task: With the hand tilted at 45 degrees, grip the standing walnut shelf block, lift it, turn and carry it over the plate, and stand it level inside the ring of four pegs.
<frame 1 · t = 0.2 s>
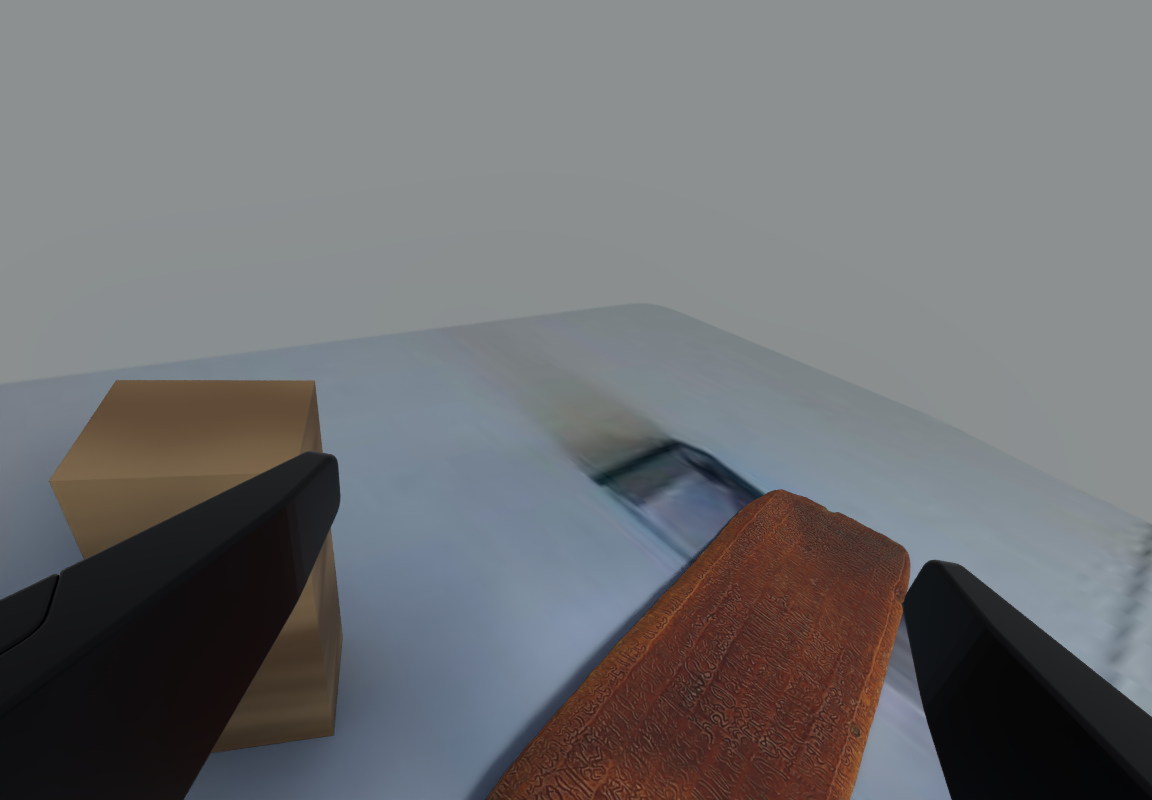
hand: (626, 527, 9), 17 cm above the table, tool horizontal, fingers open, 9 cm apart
walnut shelf block: (266, 691, 23), on the table
wooden tablet: (749, 680, 27), on the table
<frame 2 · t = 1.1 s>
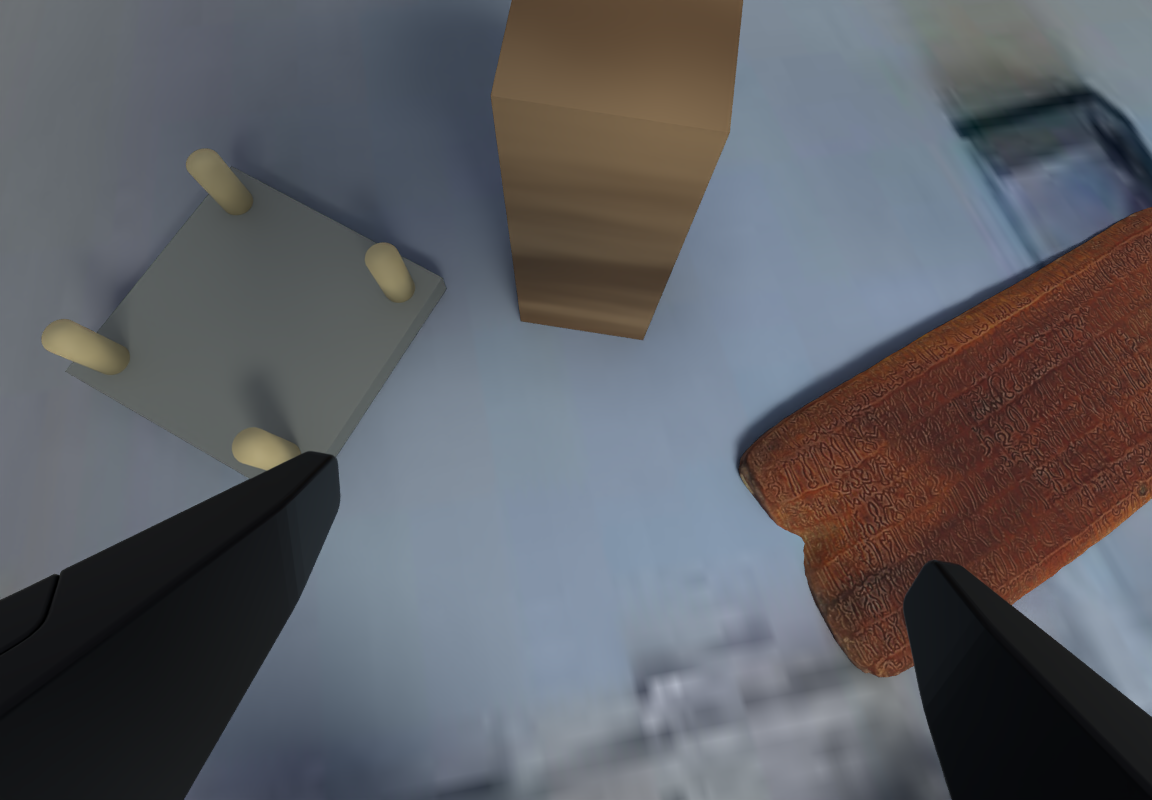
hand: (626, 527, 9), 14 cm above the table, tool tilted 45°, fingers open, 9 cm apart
peg plate: (271, 332, 24), on the table
walnut shelf block: (588, 285, 25), on the table
wooden tablet: (1044, 406, 25), on the table
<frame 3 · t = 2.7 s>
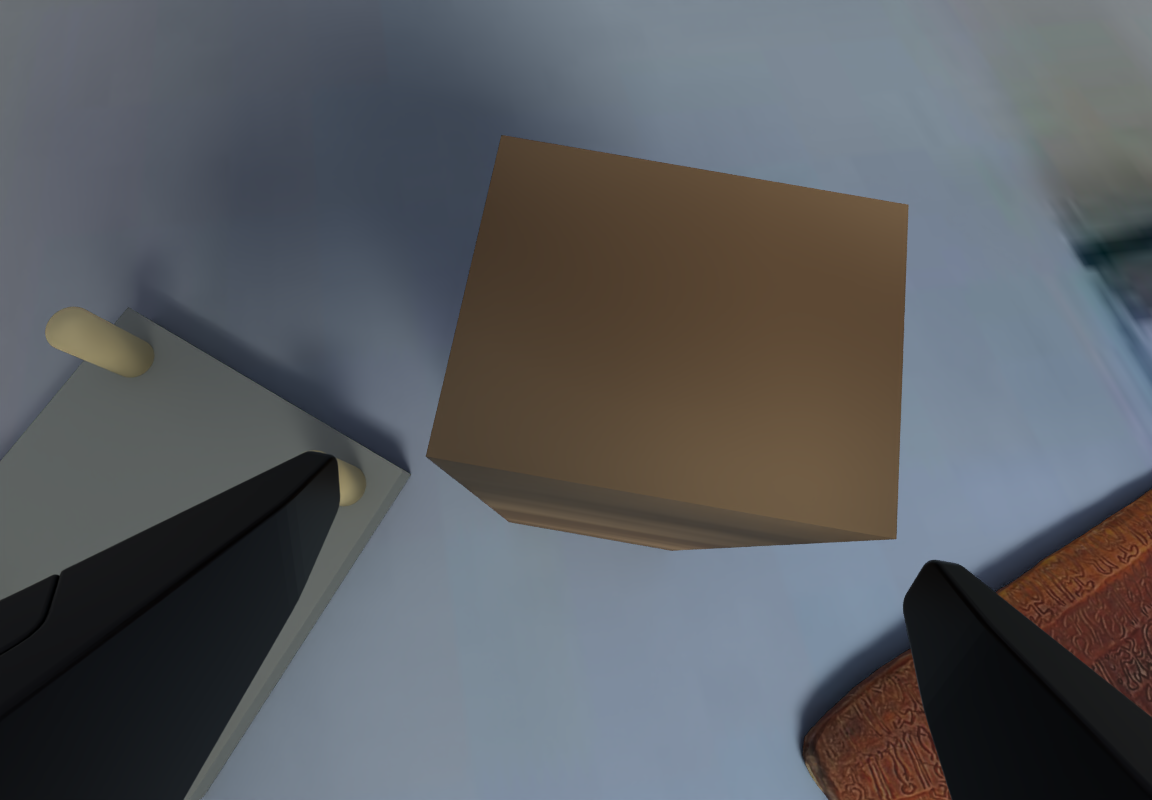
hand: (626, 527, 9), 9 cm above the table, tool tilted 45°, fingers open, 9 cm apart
peg plate: (173, 536, 18), on the table
walnut shelf block: (600, 471, 19), on the table
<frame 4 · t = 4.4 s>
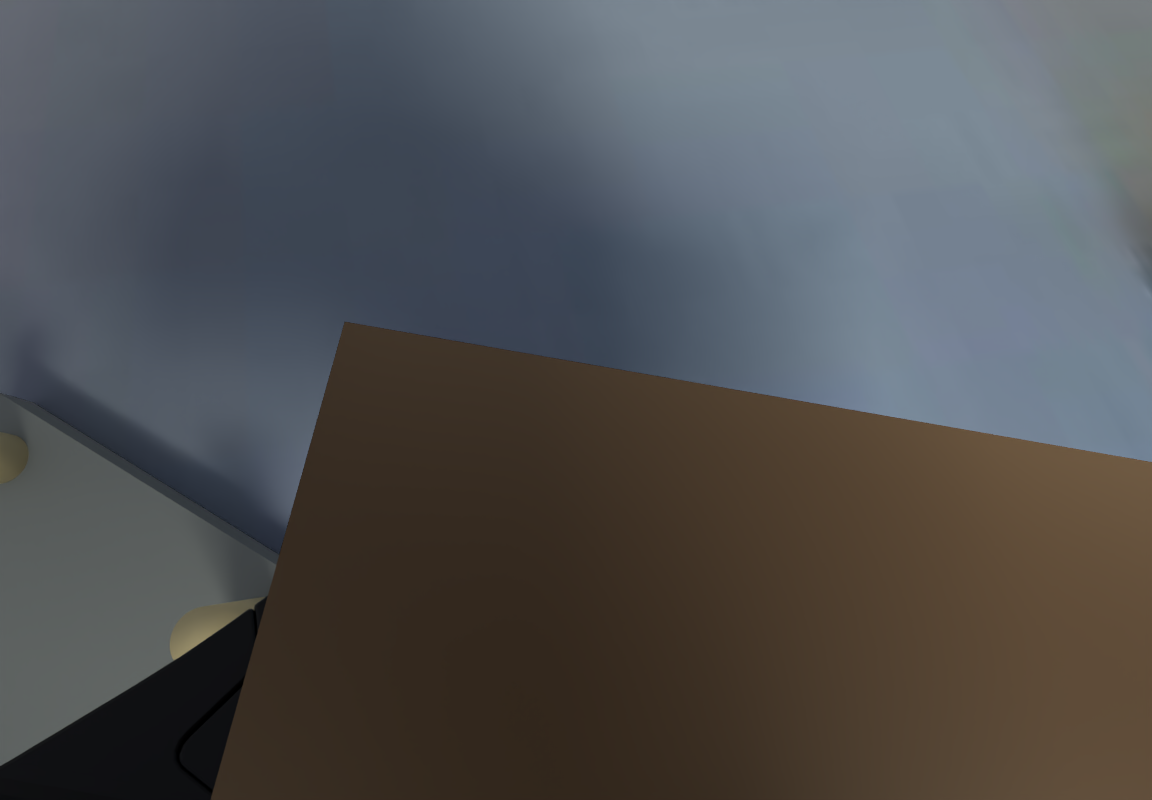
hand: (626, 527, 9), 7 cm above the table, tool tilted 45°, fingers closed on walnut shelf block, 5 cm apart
peg plate: (52, 683, 14), on the table
walnut shelf block: (587, 593, 15), on the table, touching gripper
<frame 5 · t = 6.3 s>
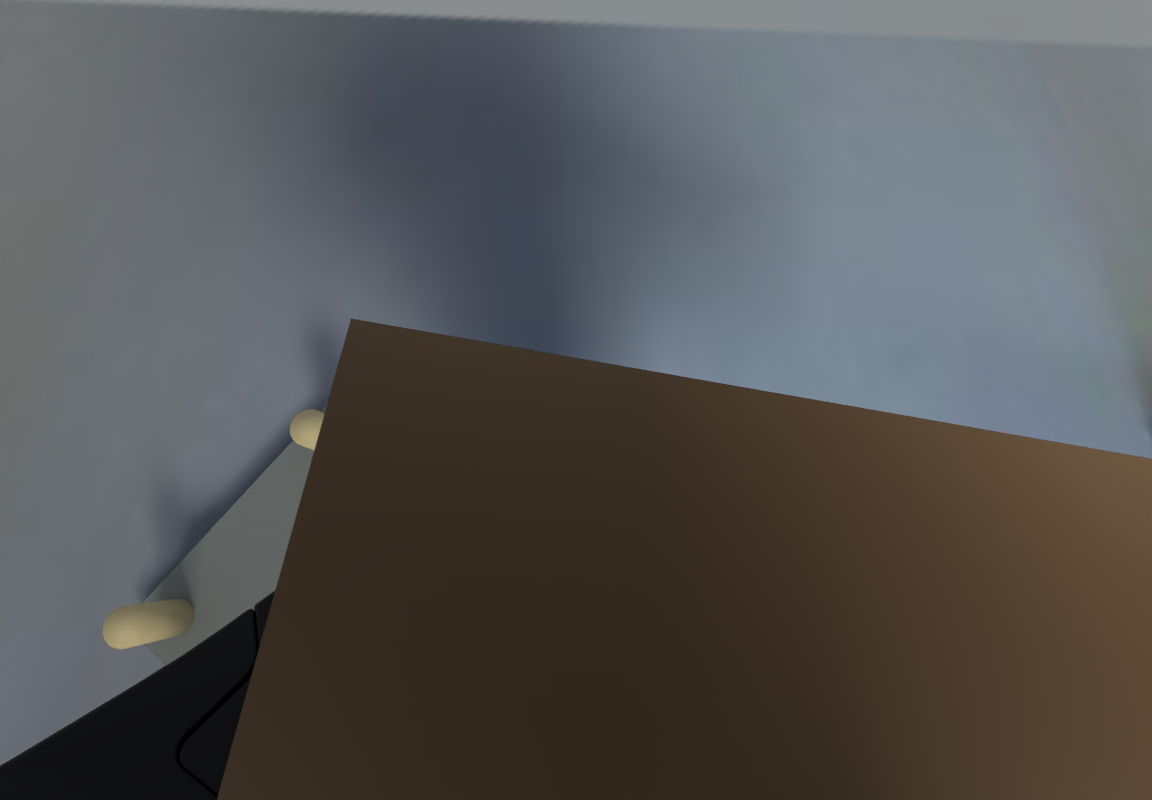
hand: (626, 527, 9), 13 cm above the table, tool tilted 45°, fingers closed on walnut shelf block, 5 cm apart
peg plate: (350, 595, 22), on the table
walnut shelf block: (589, 592, 15), point 7 cm above the table, touching gripper
when the fingers open (9 cm above the table, at t = 8.3 s): walnut shelf block drops 1 cm, resting on peg plate.
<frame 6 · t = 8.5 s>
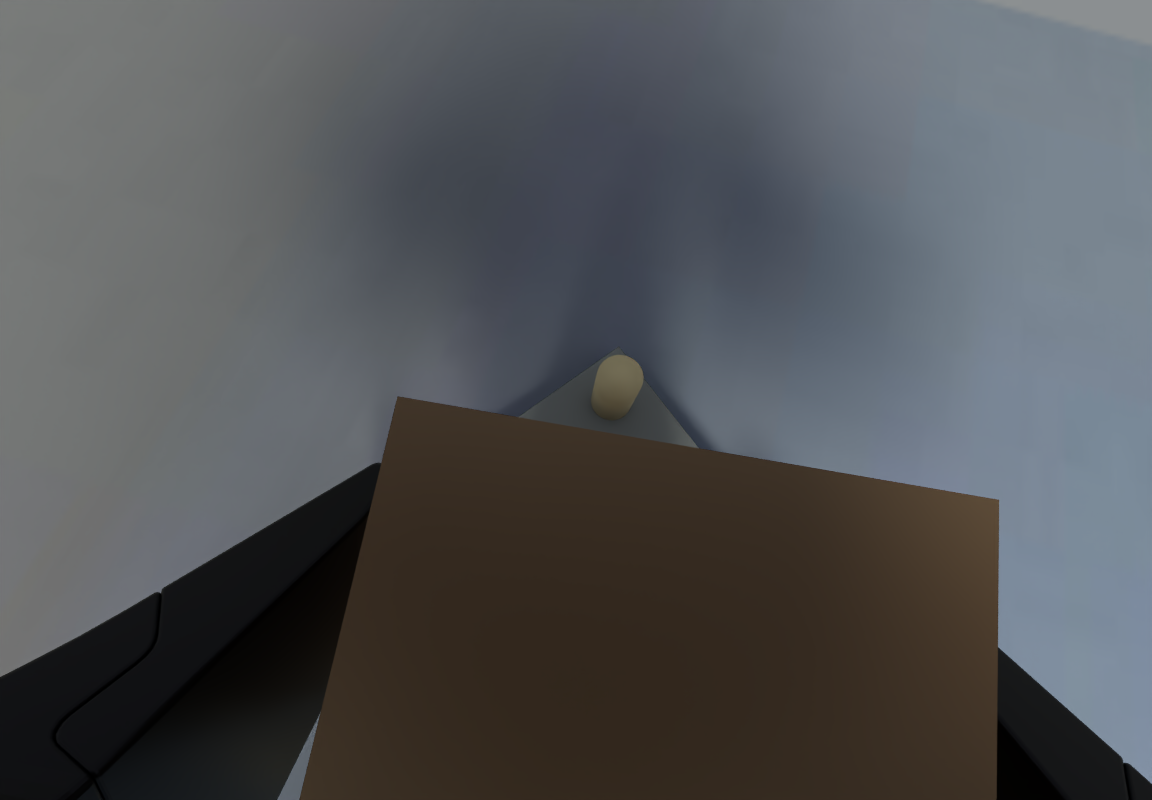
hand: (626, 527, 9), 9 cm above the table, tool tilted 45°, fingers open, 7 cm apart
peg plate: (583, 586, 18), on the table
walnut shelf block: (585, 587, 17), point 1 cm above the table, touching peg plate
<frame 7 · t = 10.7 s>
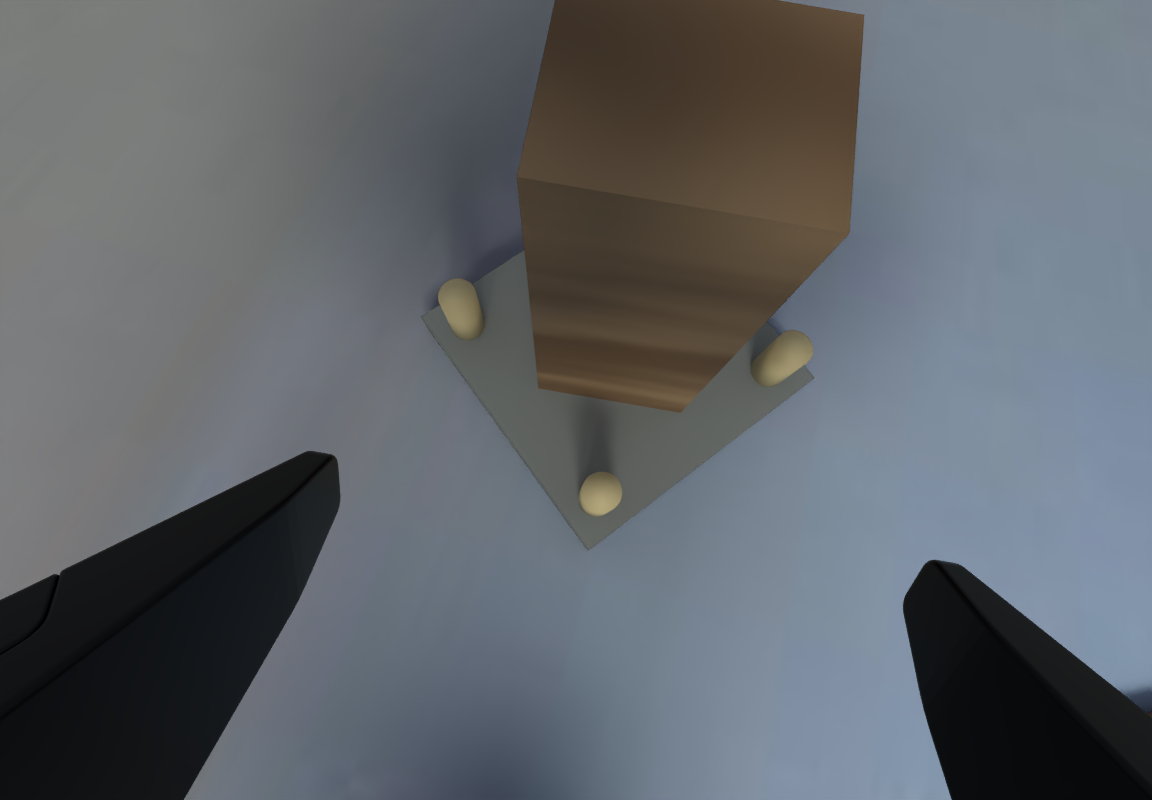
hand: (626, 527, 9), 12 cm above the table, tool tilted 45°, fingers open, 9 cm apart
peg plate: (614, 355, 23), on the table
walnut shelf block: (618, 346, 22), point 1 cm above the table, touching peg plate
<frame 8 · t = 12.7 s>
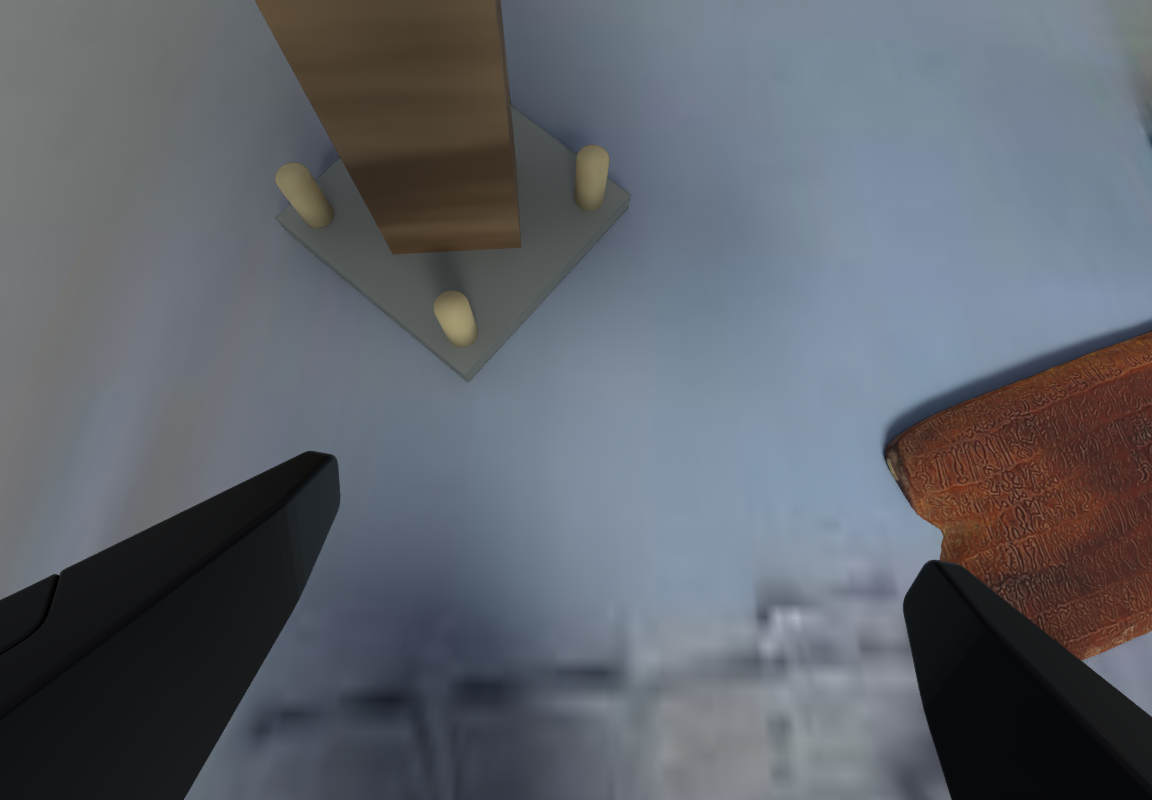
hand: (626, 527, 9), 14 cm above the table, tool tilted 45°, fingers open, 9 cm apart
peg plate: (459, 219, 25), on the table
walnut shelf block: (455, 205, 24), point 1 cm above the table, touching peg plate
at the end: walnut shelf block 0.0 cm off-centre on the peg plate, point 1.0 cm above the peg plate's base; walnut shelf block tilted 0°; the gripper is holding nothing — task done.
